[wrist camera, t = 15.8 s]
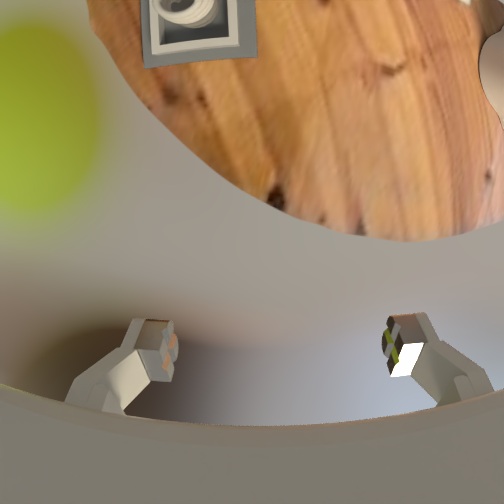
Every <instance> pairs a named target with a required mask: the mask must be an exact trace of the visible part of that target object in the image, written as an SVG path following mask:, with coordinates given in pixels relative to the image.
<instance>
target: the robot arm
mask: <svg viewBox="0 0 504 504" xmlns="http://www.w3.org/2000/svg"><path fill="white" fill-rule="evenodd" d="M479 70H480V78H481V83H482V87H483V90H484V92H485V95H486V97H487V99H488V101H489V103H490V104H491V106H492V107H493V108H494V110H495V111H496V112H497V114H498V116H499V118H500V122H501V125H502V127H503V129H504V25H503V27H502V29H501V31H499V32H498V33H495V34H493V35H492V36H490V37H489V38H488V39H487V40H486V42H485V43H484V45H483V47H482V50H481V54H480V61H479ZM386 324H387V326H388V328H387V329H386V330H385V331H384V333H383V336H382V350H383V353H384V355H385V356H386V357H387V358H389V359H388V362H387V366H388V369H389V372H390V375H391V376H401V375H410V374H411V375H410V376H411V377H412V378H413V379H414V380H415V381H416V382H417V383H418V384H419V385H420V386H421V387H422V388H424V390H425V391H426V392H427V393H428V394H429V395H430V396H431V397H432V398H433V399H434V400H435V401H436V402H437V403H438V404H437V405H436V407H434V408H430V409H425V410H420V411H415V412H409V413H404V414H398V415H392V416H386V417H379V418H372V419H364V420H356V421H347V422H338V423H325V424H311V425H291V426H232V425H210V424H195V423H183V422H173V421H164V420H155V419H148V418H140V417H134V416H128V415H126V414H125V413H124V411H123V409H124V408H125V407H126V406H127V405H128V404H129V403H130V402H131V401H132V400H133V399H134V398H135V397H136V396H137V395H138V394H139V393H140V392H141V391H142V390H143V389H144V388H145V387H146V386H147V384H149V383H150V381H166V382H171V379H172V376H173V372H174V366H173V362H174V361H175V360H176V359H177V356H178V339H177V336H176V335H175V334H174V333H173V330H174V325H173V322H172V321H171V320H157V319H140V318H134V319H133V320H132V322H131V324H130V326H129V329H128V331H127V333H126V335H125V338H124V340H123V343H122V345H121V347H120V348H116V349H115V350H113V351H112V352H110V353H109V354H108V355H106V356H105V357H104V358H102V359H101V360H100V361H99V362H97V363H96V364H94V365H93V366H91V367H90V368H89V369H87V370H86V371H85V372H83V373H82V374H81V375H79V376H78V377H77V378H75V379H74V381H73V384H72V386H71V388H70V390H69V392H68V395H67V397H66V399H65V402H60V401H56V400H52V399H48V398H45V397H41V396H37V395H34V394H31V393H27V392H24V391H21V390H18V389H15V388H12V387H9V386H6V385H3V384H0V504H504V389H501V390H498V391H494V389H493V387H492V385H491V383H490V381H489V378H488V376H487V374H486V372H485V370H484V369H483V368H481V367H480V366H478V365H477V364H476V363H474V362H473V361H472V360H470V359H469V358H467V357H466V356H465V355H463V354H461V353H460V352H459V351H457V350H456V349H454V348H453V347H452V346H450V345H449V344H447V343H446V342H444V341H440V340H439V338H438V336H437V334H436V332H435V330H434V328H433V326H432V324H431V322H430V320H429V318H428V316H427V314H426V313H424V312H422V313H413V314H403V315H392V316H389V318H388V320H387V323H386Z"/></svg>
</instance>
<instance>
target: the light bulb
mask: <svg viewBox="0 0 504 504" xmlns="http://www.w3.org/2000/svg"><path fill="white" fill-rule="evenodd" d="M152 5H153V8H154V9H155V11H156V12H157V13H158V14H159V15H160V16H162V17H163V18H164V19H166V20H168V21H170V22H173V23H177V24H178V25H181V26H184V27H187V28H200V27H204V26H206V25H208V24H209V23H211V22H212V21H213V20H214V18H215V17H216V16H217V13H218V11H219V3H218V0H152Z"/></svg>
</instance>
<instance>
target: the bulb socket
mask: <svg viewBox="0 0 504 504" xmlns="http://www.w3.org/2000/svg"><path fill="white" fill-rule="evenodd" d="M218 3H219V11H218V13H217V16H216V17H215V18H214V20H213V21H212V22H211V23H209V24H208V25H206V26H204V27H200V28H187V27H184V26H181V25H178V24H177V23H173V22H170V21H168V20H166V19H164V18H163V17H162V16H160V15H159V14H158V13H157V12H156V11H155V9H154V8H153V5H152V0H141V26H142V44H143V59H144V69H151V68H157V67H163V66H170V65H177V64H184V63H193V62H202V61H212V60H224V59H240V58H258V51H257V29H256V8H255V0H218Z"/></svg>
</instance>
